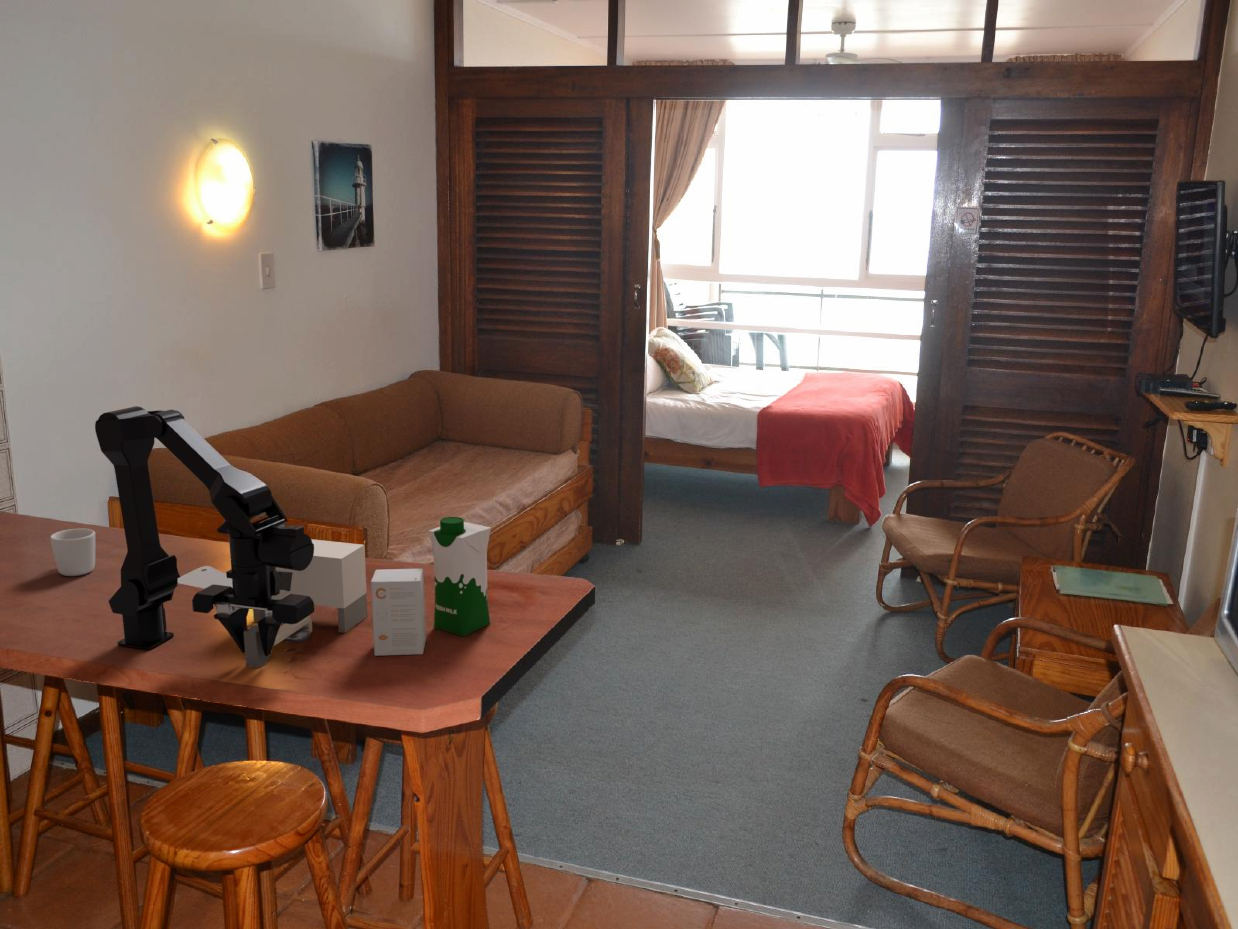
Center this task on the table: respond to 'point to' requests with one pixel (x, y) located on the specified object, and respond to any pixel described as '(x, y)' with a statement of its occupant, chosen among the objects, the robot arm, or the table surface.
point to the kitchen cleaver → (205, 578)
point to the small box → (398, 612)
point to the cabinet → (332, 581)
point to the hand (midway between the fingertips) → (256, 653)
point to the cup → (74, 551)
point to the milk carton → (460, 575)
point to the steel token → (299, 635)
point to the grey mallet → (254, 645)
